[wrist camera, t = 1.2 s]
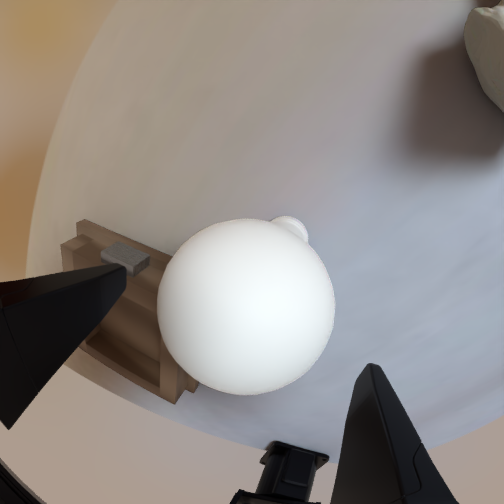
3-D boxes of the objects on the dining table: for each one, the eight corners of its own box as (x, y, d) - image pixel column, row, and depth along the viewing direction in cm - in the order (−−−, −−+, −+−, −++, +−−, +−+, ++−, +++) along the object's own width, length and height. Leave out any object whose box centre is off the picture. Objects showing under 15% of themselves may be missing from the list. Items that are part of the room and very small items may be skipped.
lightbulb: (224, 199, 17) (89, 287, 8) (322, 166, 15) (279, 233, 5) (259, 287, 19) (179, 424, 10) (352, 267, 17) (343, 429, 7)
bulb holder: (198, 386, 26) (181, 412, 23) (94, 329, 28) (73, 347, 25) (220, 274, 20) (197, 301, 17) (84, 218, 22) (54, 232, 19)
